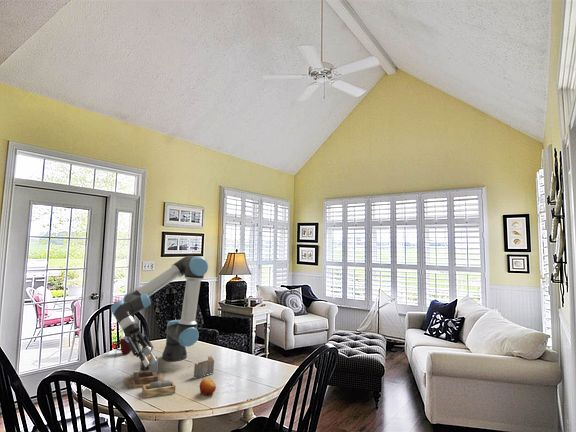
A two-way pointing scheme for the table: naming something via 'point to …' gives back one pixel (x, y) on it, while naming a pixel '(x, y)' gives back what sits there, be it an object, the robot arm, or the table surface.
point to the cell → (147, 352)
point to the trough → (158, 388)
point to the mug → (123, 346)
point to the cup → (154, 365)
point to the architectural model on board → (204, 367)
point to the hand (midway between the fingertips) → (151, 363)
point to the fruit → (207, 386)
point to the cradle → (142, 379)
